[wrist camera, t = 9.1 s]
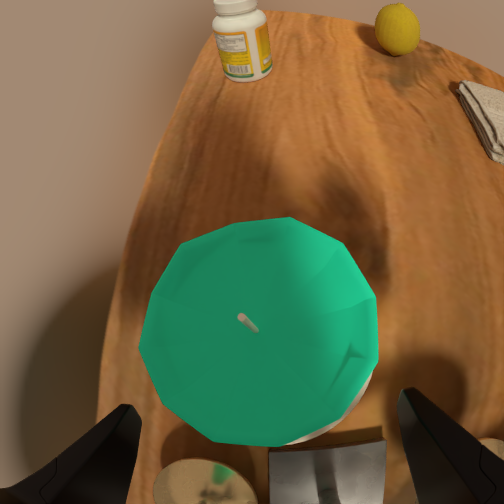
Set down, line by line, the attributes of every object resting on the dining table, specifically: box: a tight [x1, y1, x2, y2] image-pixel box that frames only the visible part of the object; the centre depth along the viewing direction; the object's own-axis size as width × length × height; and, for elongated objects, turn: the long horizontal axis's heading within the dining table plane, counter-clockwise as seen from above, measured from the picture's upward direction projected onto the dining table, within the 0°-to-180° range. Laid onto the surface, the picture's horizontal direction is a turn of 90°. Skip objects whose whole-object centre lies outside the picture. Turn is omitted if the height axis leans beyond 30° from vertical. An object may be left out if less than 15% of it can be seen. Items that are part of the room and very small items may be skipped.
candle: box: [138, 217, 378, 447], centre depth 11 cm, size 6×6×12 cm
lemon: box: [375, 3, 420, 56], centre depth 23 cm, size 6×6×8 cm
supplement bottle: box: [212, 0, 272, 82], centre depth 24 cm, size 5×5×10 cm
